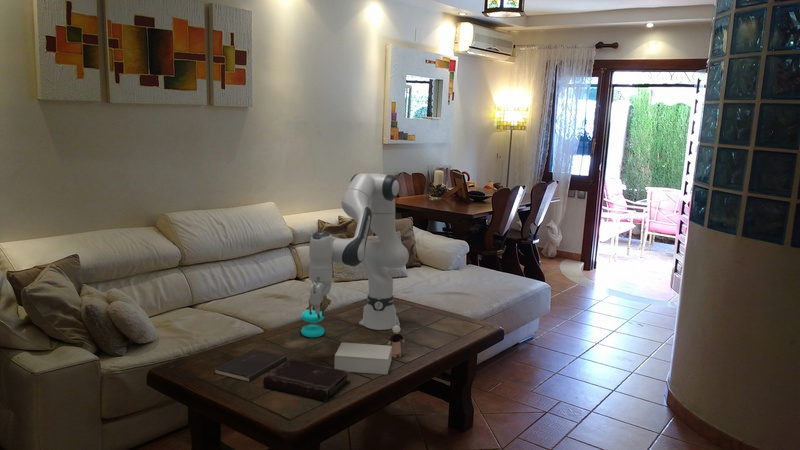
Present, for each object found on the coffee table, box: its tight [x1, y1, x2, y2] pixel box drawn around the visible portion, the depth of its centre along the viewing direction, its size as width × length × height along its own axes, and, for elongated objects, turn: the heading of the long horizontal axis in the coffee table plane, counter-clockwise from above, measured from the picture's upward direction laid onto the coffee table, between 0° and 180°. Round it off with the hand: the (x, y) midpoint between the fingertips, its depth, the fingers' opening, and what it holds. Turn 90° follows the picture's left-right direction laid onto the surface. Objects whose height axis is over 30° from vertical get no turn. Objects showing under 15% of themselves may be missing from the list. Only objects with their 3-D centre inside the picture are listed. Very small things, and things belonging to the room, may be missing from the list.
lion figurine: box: [305, 296, 332, 319], centre depth 241 cm, size 15×5×9 cm, turn 45°
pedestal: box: [333, 341, 393, 375], centre depth 239 cm, size 14×20×6 cm
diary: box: [262, 358, 351, 402], centre depth 221 cm, size 19×25×5 cm
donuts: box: [300, 309, 326, 339], centre depth 271 cm, size 10×10×10 cm
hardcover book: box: [213, 348, 288, 383], centre depth 234 cm, size 16×23×2 cm
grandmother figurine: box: [387, 325, 406, 358], centre depth 250 cm, size 8×4×13 cm, turn 135°
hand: (320, 309), depth 239 cm, fingers closed on lion figurine, 7 cm apart
